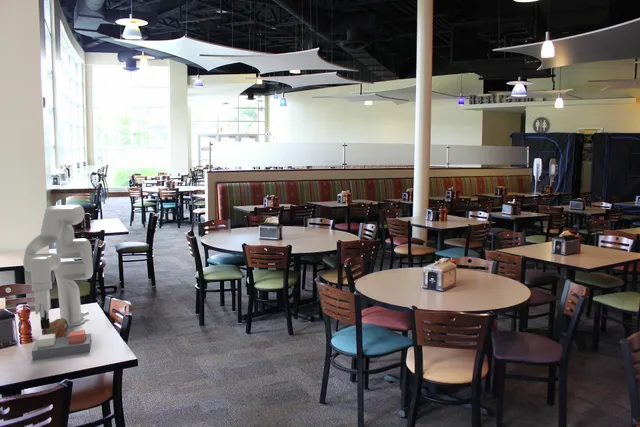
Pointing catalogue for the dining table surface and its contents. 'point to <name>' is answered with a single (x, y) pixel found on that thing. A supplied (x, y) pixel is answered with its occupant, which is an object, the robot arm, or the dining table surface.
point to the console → (61, 348)
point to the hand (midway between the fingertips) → (45, 328)
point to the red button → (77, 336)
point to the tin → (57, 328)
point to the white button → (46, 340)
